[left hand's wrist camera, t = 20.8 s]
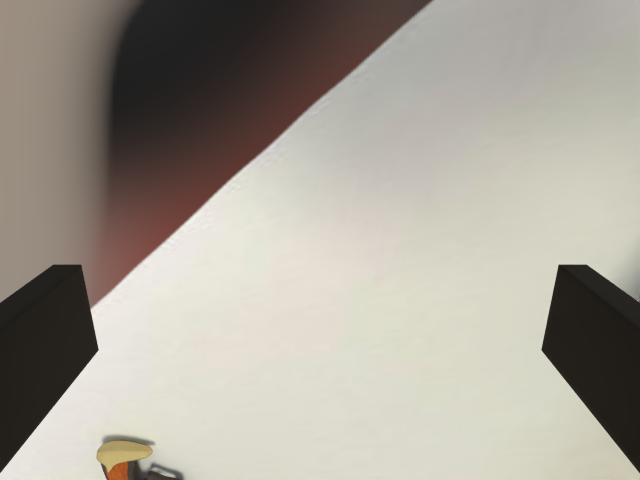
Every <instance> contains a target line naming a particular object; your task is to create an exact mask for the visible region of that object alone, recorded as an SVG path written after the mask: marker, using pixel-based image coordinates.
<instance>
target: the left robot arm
mask: <svg viewBox="0 0 640 480" xmlns="http://www.w3.org/2000/svg"><path fill="white" fill-rule="evenodd" d="M97 351H98V345H97V340H96V335H95V330H94V325H93V320H92V315H91V310H90V305H89V301H88V296H87V291H86V286H85V281H84V276H83V271H82V266H81V265H52V266H51V267H50V268H48V269H47V270H45V271H44V272H43V273H41V274H40V275H38V276H37V277H36V278H34V279H33V280H31V281H30V282H29V283H27V284H26V285H24V286H23V287H22V288H20V289H19V290H18V291H16V292H15V293H13V294H12V295H11V296H9V297H8V298H6V299H5V300H4V301H2V302H1V303H0V473H1V471H2V470H3V469H4V468H5V466H6V465H7V464H8V463H9V461H10V460H11V459H12V458H13V456H14V455H15V454H16V453H17V451H18V450H19V449H20V448H21V446H22V445H23V444H24V443H25V441H26V440H27V439H28V438H29V436H30V435H31V434H32V433H33V431H34V430H35V429H36V428H37V426H38V425H39V424H40V423H41V421H42V420H43V419H44V418H45V416H46V415H47V414H48V413H49V411H50V410H51V409H52V408H53V406H54V405H55V404H56V403H57V401H58V400H59V399H60V398H61V396H62V395H63V394H64V393H65V391H66V390H67V389H68V388H69V386H70V385H71V384H72V383H73V381H74V380H75V379H76V378H77V376H78V375H79V374H80V373H81V371H82V370H83V369H84V368H85V366H86V365H87V364H88V363H89V361H90V360H91V359H92V358H93V356H94V355H95V354H96V353H97ZM542 351H543V353H544V354H545V355H546V356H547V358H548V359H549V360H550V361H551V363H552V364H553V365H554V366H555V368H556V369H557V370H558V371H559V373H560V374H561V375H562V376H563V378H564V379H565V380H566V381H567V383H568V384H569V385H570V386H571V388H572V389H573V390H574V391H575V393H576V394H577V395H578V396H579V398H580V399H581V400H582V401H583V403H584V404H585V405H586V406H587V408H588V409H589V410H590V411H591V413H592V414H593V415H594V416H595V418H596V419H597V420H598V421H599V423H600V424H601V425H602V426H603V428H604V429H605V430H606V431H607V433H608V434H609V435H610V436H611V438H612V439H613V440H614V441H615V443H616V444H617V445H618V446H619V448H620V449H621V450H622V451H623V453H624V454H625V455H626V456H627V458H628V459H629V460H630V461H631V463H632V464H633V465H634V466H635V468H636V469H637V470H638V471H639V473H640V303H639V302H638V301H636V300H635V299H634V298H632V297H631V296H629V295H628V294H627V293H625V292H624V291H623V290H621V289H620V288H618V287H617V286H616V285H614V284H613V283H611V282H610V281H609V280H607V279H606V278H604V277H603V276H602V275H600V274H599V273H597V272H596V271H595V270H593V269H592V268H590V267H589V266H588V265H559V266H558V271H557V276H556V281H555V286H554V291H553V296H552V301H551V305H550V310H549V315H548V320H547V325H546V330H545V335H544V340H543V345H542Z"/></svg>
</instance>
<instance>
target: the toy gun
mask: <svg viewBox="0 0 640 480" xmlns="http://www.w3.org/2000/svg"><path fill="white" fill-rule="evenodd" d="M152 452H153V451H152V449H151V447H149V446H146V445H142V444H138V443H134V442H129V441H111V442H108V443H105V444H103V445H102V446H101V447H100V448H99V449H98V451H97V460H98V461H99V462H100V463H101V465H102V469H103V471H104V474H105V476H106V478H107V480H140V479H139V478H138V475H137V473H136V470H135V462H136V461H137V460H138V459H143V458H146V457H148V456H149V455H151V454H152ZM145 480H179V479H178V478H172V477H167V476H164V475H161V474H158V473H156V472H154V471H150V472H149V474H148V476H147V478H146V479H145Z"/></svg>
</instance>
